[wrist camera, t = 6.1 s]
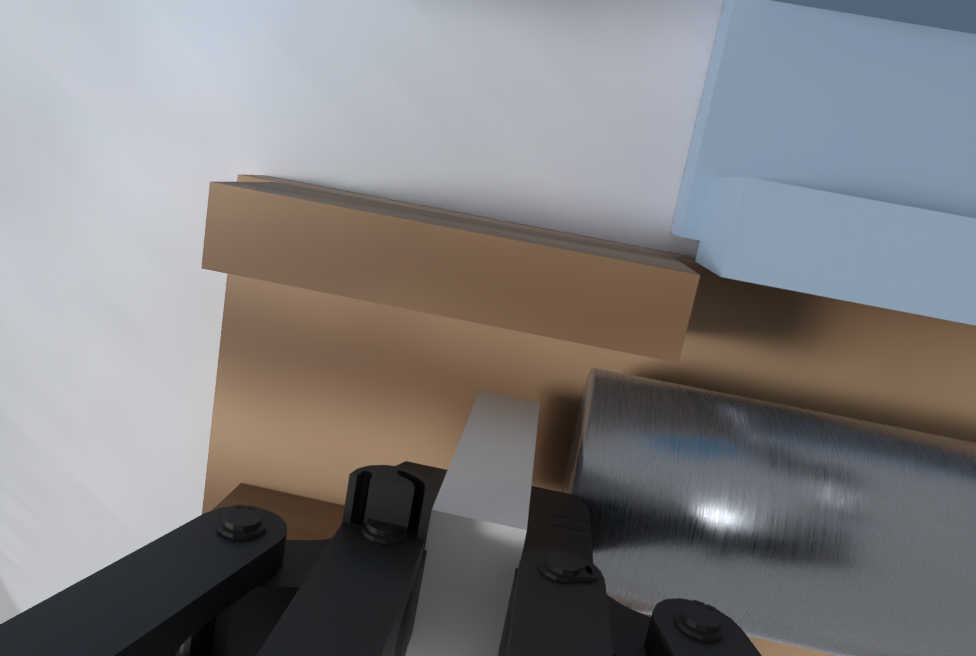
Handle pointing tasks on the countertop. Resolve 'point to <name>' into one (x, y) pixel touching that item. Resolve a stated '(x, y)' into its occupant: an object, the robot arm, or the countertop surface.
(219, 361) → the wooden channel tray
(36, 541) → the countertop surface
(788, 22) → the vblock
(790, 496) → the axle
